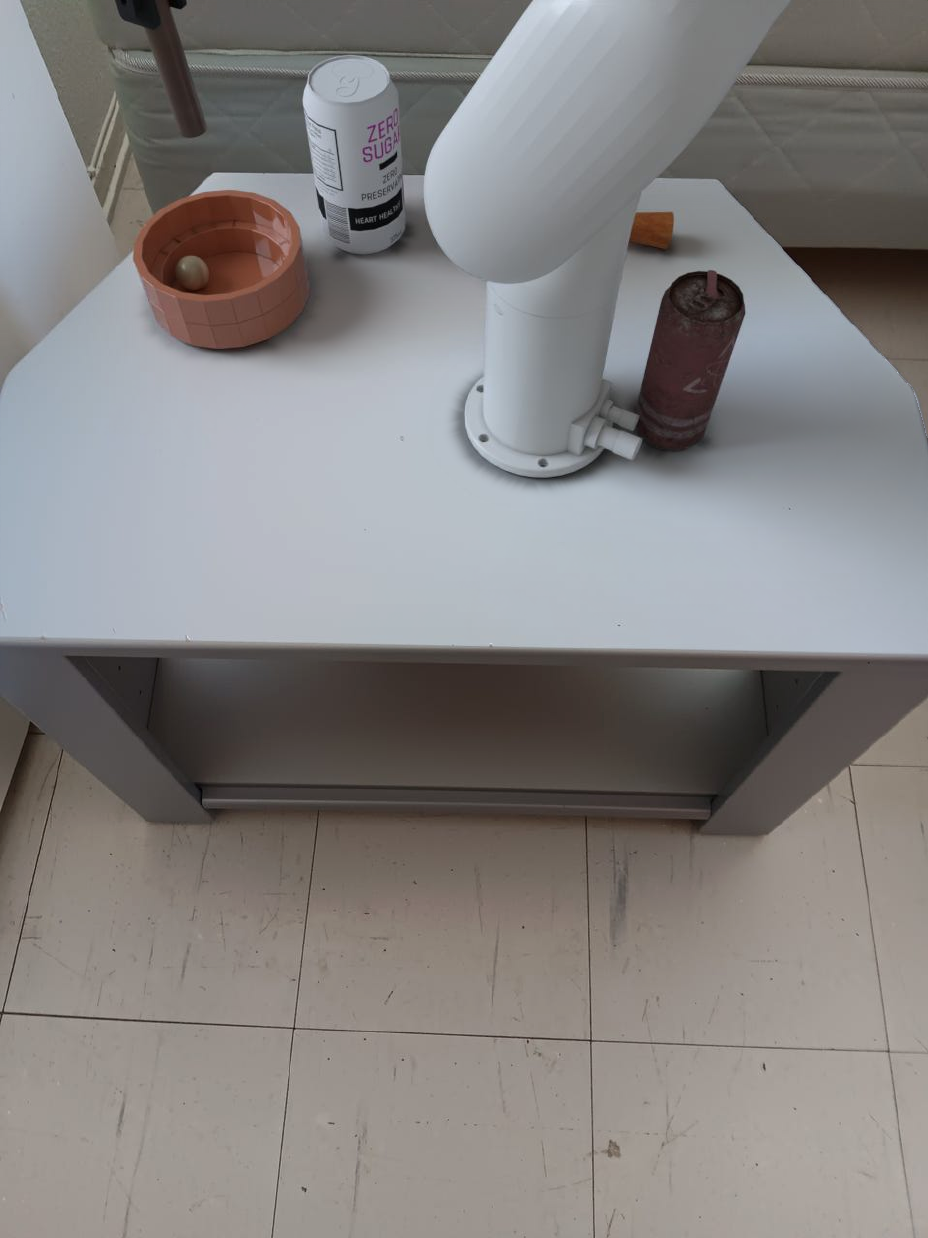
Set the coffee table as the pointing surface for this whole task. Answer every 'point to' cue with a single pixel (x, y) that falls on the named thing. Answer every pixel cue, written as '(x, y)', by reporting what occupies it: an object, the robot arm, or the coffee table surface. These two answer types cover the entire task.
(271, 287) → the bowl
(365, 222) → the supplement can
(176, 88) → the stick
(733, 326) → the can
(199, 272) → the bead
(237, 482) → the coffee table surface
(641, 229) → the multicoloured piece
